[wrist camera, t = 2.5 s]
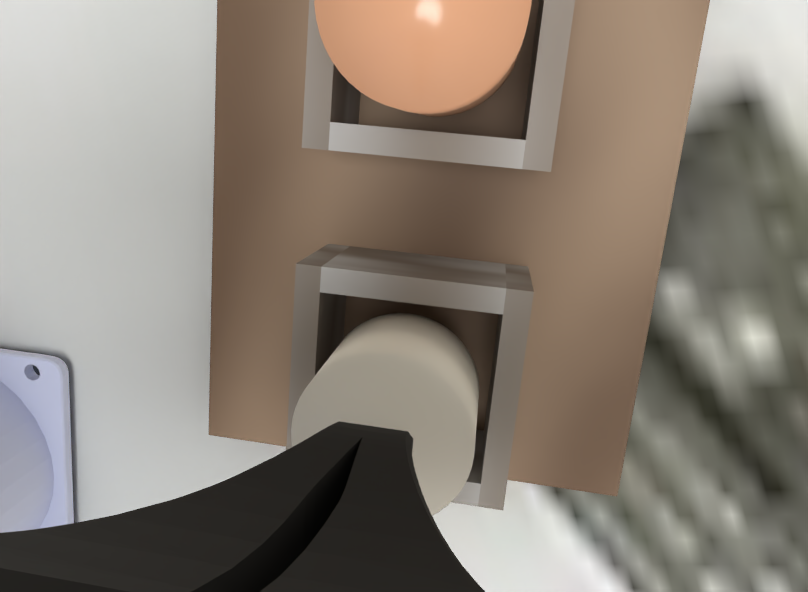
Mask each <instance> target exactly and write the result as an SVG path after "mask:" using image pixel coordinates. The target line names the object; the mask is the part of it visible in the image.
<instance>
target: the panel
mask: <svg viewBox="0 0 808 592" xmlns="http://www.w3.org/2000/svg"><path fill="white" fill-rule="evenodd" d="M709 2H710V0H532V2H531V10H530V15H529V20H528V24H527V28H526V32H525V37H524V41H523V45H522V48H521V51H520V54H519V57H518V60H517V62H516V64H515V66H514V68H513V70H512V72H511V73H510V75H509V76H508V78H507V79H506V81H505V82H504V83H503V84H502V86H501V87H500V88H499V89H498V90H497V91H496V92H495V93H494V94H493V95H492V96H491V97H489V98H488V99H487V100H485V101H484V102H483V103H481V104H479V105H478V106H476V107H474V108H472V109H470V110H467V111H465V112H462V113H459V114H455V115H451V116H443V117H428V116H422V115H417V114H413V113H410V112H406V111H403V110H400V109H396V108H393V107H390V106H386V105H383V104H381V103H379V102H377V101H375V100H373V99H371V98H369V97H368V96H366V95H364V94H363V93H361V92H360V91H359V90H357V89H356V88H355V87H354V86H353V85H351V84H350V83H349V82H348V81H347V80H346V78H345V77H344V76H343V75H342V74H341V73H340V72H339V70H338V69H337V68H336V66H335V65H334V63H333V62H332V60H331V58H330V57H329V55H328V53H327V51H326V49H325V47H324V44H323V42H322V39H321V36H320V33H319V29H318V25H317V21H316V14H315V6H314V0H217V48H216V98H215V148H214V198H213V247H212V297H211V347H210V397H209V435H214V436H220V437H227V438H234V439H240V440H247V441H254V442H260V443H267V444H273V445H280V446H286V450H288V449H290V448H291V447H292V442H291V426H292V418H293V414H294V411H295V407H296V405H297V403H298V400H299V398H300V396H301V395H302V393H303V391H304V390H305V388H306V387H307V386H308V384H309V383H310V382H311V380H312V379H313V378H314V377H315V375H316V374H317V373H318V371H319V370H320V369H321V368H322V366H323V365H324V364H325V362H326V361H327V360H328V359H329V357H330V356H331V355H332V353H333V352H334V351H335V350H336V348H337V347H338V346H339V344H340V343H341V342H342V341H343V339H344V338H345V337H346V336H347V335H348V334H349V333H350V332H351V331H352V330H353V329H354V328H356V327H357V326H359V325H360V324H362V323H364V322H366V321H368V320H370V319H372V318H375V317H378V316H381V315H386V314H394V313H407V314H414V315H419V316H423V317H426V318H429V319H431V320H433V321H436V322H438V323H440V324H441V325H443V326H444V327H446V328H447V329H449V330H450V331H451V332H452V333H454V334H455V335H456V336H457V337H458V338H459V339H460V340H461V342H462V343H463V344H464V345H465V347H466V348H467V350H468V351H469V353H470V355H471V357H472V359H473V361H474V364H475V366H476V369H477V373H478V378H479V401H478V414H477V426H476V439H475V451H474V459H473V464H472V468H471V471H470V474H469V477H468V479H467V481H466V483H465V485H464V486H463V488H462V490H461V491H460V492H459V494H458V495H457V496H456V497H455V498H454V499H453V500H452V501H451V502H453V503H460V504H466V505H473V506H479V507H485V508H492V509H498V510H503V507H504V500H505V492H506V485H507V480H512V481H519V482H526V483H532V484H539V485H546V486H552V487H559V488H566V489H572V490H579V491H585V492H592V493H599V494H605V495H612V496H617V494H618V489H619V483H620V478H621V473H622V467H623V462H624V456H625V451H626V446H627V440H628V435H629V430H630V424H631V419H632V414H633V408H634V403H635V398H636V392H637V387H638V382H639V376H640V371H641V366H642V360H643V355H644V350H645V344H646V339H647V334H648V328H649V323H650V318H651V312H652V307H653V302H654V296H655V291H656V286H657V280H658V275H659V270H660V264H661V259H662V254H663V248H664V243H665V237H666V232H667V227H668V221H669V216H670V211H671V205H672V200H673V195H674V189H675V184H676V179H677V173H678V168H679V163H680V157H681V152H682V147H683V141H684V136H685V131H686V125H687V120H688V115H689V109H690V104H691V99H692V93H693V88H694V83H695V77H696V72H697V67H698V61H699V56H700V51H701V45H702V40H703V35H704V29H705V24H706V18H707V13H708V8H709Z"/></svg>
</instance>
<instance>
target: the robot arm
mask: <svg viewBox="0 0 808 592" xmlns="http://www.w3.org/2000/svg"><path fill="white" fill-rule="evenodd" d="M33 365H34V366H36V367H37V368H38V369H39V372H40V376H39V375H37V374H36V373H35V372H34V370H33ZM412 449H413V437H412V436H411V435H410V433H409V432H408V431H402V430H395V429H388V428H381V427H375V426H368V425H361V424H354V423H347V422H340V421H339V422H336V423H334V424H332V425H330V426H328V427H326V428H325V429H323V430H321V431H319V432H318V433H316V434H314V435H313V436H311V437H309V438H307V439H306V440H304V441H302V442H300V443H299V444H297V445H295V446H293V447H291V448H290V449H288V450H286V451H284V452H283V453H281V454H279V455H277V456H275V457H273V458H271V459H269V460H267V461H265V462H263V463H261V464H259V465H257V466H255V467H253V468H251V469H249V470H247V471H245V472H243V473H241V474H239V475H236V476H234V477H232V478H230V479H228V480H225V481H223V482H220V483H218V484H215V485H213V486H210V487H208V488H205V489H202V490H199V491H197V492H194V493H191V494H188V495H185V496H183V497H180V498H176V499H173V500H170V501H166V502H163V503H159V504H155V505H151V506H148V507H144V508H140V509H137V510H133V511H129V512H125V513H122V514H118V515H113V516H109V517H104V518H99V519H94V520H89V521H84V522H78V523H74V510H73V481H72V453H71V424H70V395H69V372H68V367H67V366H66V364H65V363H64V361H62V360H61V359H60V358H58V357H55V356H50V355H43V354H36V353H29V352H22V351H15V350H8V349H0V592H485V591H484V590H483V589H482V588H481V587H480V586H479V585H478V584H477V582H476V581H475V580H474V579H473V578H472V577H471V575H470V574H469V573H468V572H467V571H466V570H465V568H464V567H463V566H462V565H461V563H460V562H459V561H458V559H457V558H456V556H455V555H454V553H453V552H452V551H451V549H450V547H449V546H448V544H447V543H446V541H445V539H444V538H443V536H442V534H441V533H440V531H439V529H438V527H437V525H436V523H435V521H434V519H433V517H432V515H431V513H430V510H429V508H428V506H427V504H426V501H425V499H424V496H423V494H422V491H421V488H420V485H419V482H418V478H417V475H416V472H415V468H414V463H413V458H412Z"/></svg>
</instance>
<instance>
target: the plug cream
mask: <svg viewBox="0 0 808 592" xmlns="http://www.w3.org/2000/svg"><path fill="white" fill-rule="evenodd" d="M478 401H479V378H478V373H477V369H476V366H475V364H474V361H473V359H472V357H471V355H470V353H469V351H468V350H467V348H466V347H465V345H464V344H463V343H462V342H461V340H460V339H459V338H458V337H457V336H456V335H455V334H454V333H452V332H451V331H450V330H449V329H447V328H446V327H444V326H443V325H441V324H440V323H438V322H436V321H433V320H431V319H429V318H426V317H423V316H419V315H414V314H407V313H394V314H386V315H381V316H378V317H375V318H372V319H370V320H368V321H366V322H364V323H362V324H360V325H359V326H357V327H356V328H354V329H353V330H352V331H351V332H350V333H349V334H348V335H347V336H346V337H345V338H344V339H343V341H342V342H341V343H340V344H339V346H338V347H337V348H336V350H335V351H334V352H333V353H332V355H331V356H330V357H329V359H328V360H327V361H326V362H325V364H324V365H323V366H322V368H321V369H320V370H319V371H318V373H317V374H316V375H315V377H314V378H313V379H312V380H311V382H310V383H309V384H308V386H307V387H306V388H305V390H304V391H303V393H302V395H301V396H300V398H299V400H298V403H297V405H296V407H295V411H294V414H293V418H292V426H291V442H292V447H293V446H295V445H297V444H299V443H300V442H302V441H304V440H306V439H307V438H309V437H311V436H313V435H314V434H316V433H318V432H319V431H321V430H323V429H325V428H326V427H328V426H330V425H332V424H334V423H336V422H339V421H340V422H347V423H354V424H361V425H368V426H375V427H381V428H388V429H395V430H402V431H408V432H409V433H410V435H411V436H412V437H413V449H412V458H413V463H414V468H415V472H416V475H417V478H418V482H419V485H420V488H421V491H422V494H423V496H424V499H425V501H426V504H427V506H428V508H429V510H430V513H431V515H434V514H436V513H438V512H439V511H441V510H442V509H443V508H445V507H446V506H447V505H449V504H450V502H451V501H452V500H453V499H454V498H455V497H456V496H457V495H458V494H459V492H460V491H461V490H462V488H463V486H464V485H465V483H466V481H467V479H468V477H469V474H470V471H471V468H472V464H473V459H474V451H475V439H476V426H477V414H478Z"/></svg>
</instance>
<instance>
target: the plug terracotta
mask: <svg viewBox="0 0 808 592" xmlns="http://www.w3.org/2000/svg"><path fill="white" fill-rule="evenodd" d="M531 2H532V0H314V6H315V14H316V21H317V25H318V29H319V33H320V36H321V39H322V42H323V44H324V47H325V49H326V51H327V53H328V55H329V57H330V58H331V60H332V62H333V63H334V65H335V66H336V68H337V69H338V70H339V72H340V73H341V74H342V75H343V76H344V77H345V78H346V80H347V81H348V82H349V83H350V84H351V85H353V86H354V87H355V88H356V89H357V90H359V91H360V92H361V93H363V94H364V95H366V96H368V97H369V98H371V99H373V100H375V101H377V102H379V103H381V104H383V105H386V106H390V107H393V108H396V109H400V110H403V111H406V112H410V113H413V114H417V115H422V116H428V117H443V116H451V115H455V114H459V113H462V112H465V111H467V110H470V109H472V108H474V107H476V106H478V105H479V104H481V103H483V102H484V101H485V100H487V99H488V98H489V97H491V96H492V95H493V94H494V93H495V92H496V91H497V90H498V89H499V88H500V87H501V86H502V84H503V83H504V82H505V81H506V79H507V78H508V76H509V75H510V73H511V72H512V70H513V68H514V66H515V64H516V62H517V60H518V57H519V54H520V51H521V48H522V45H523V41H524V37H525V32H526V28H527V24H528V20H529V15H530V10H531Z"/></svg>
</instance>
